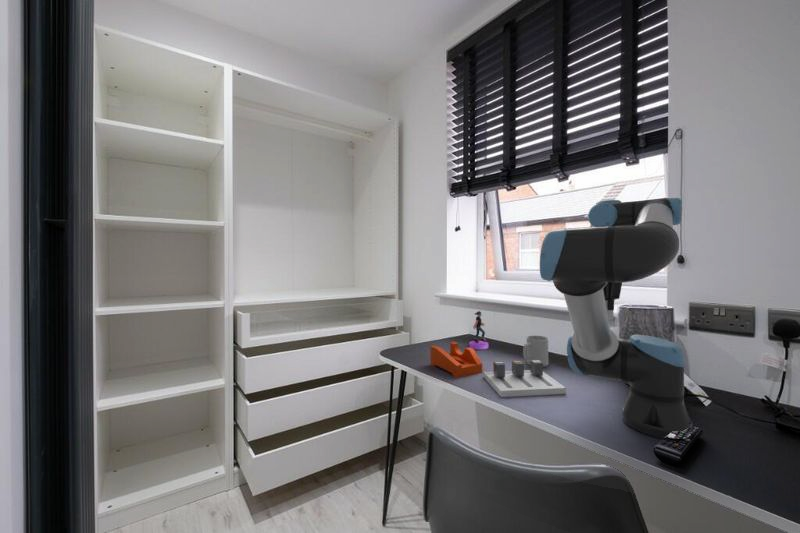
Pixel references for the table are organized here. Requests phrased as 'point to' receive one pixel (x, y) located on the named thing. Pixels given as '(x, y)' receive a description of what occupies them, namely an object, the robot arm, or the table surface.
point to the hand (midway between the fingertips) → (607, 319)
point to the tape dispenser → (456, 360)
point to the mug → (536, 349)
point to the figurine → (476, 343)
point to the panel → (524, 384)
